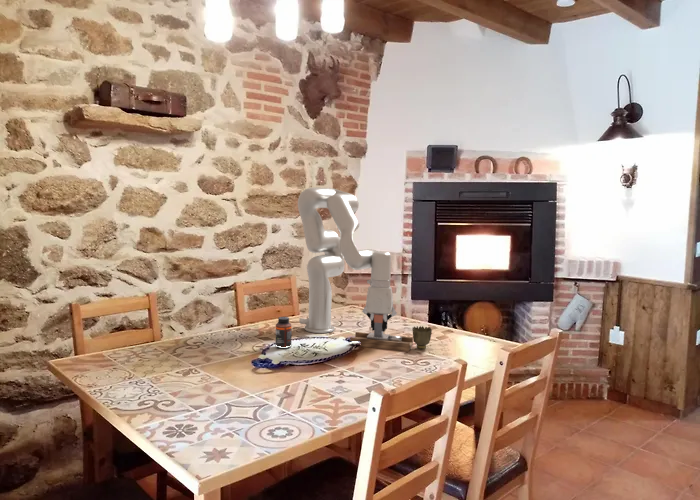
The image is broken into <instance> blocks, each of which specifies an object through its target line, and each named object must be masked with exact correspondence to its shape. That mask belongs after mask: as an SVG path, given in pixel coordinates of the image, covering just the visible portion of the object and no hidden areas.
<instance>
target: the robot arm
mask: <svg viewBox="0 0 700 500" xmlns="http://www.w3.org/2000/svg"><path fill="white" fill-rule="evenodd" d="M297 209H298V214H299V216H300V217H299V218H300V221H301V224H302V229H303V235H304V239H305V245H306V247H307V250H308V251H309V252H310V253H315V254H316V253H324V254H322V255H316V256H314V257H313V256H312V257H311V258H310V259H309V260H308V262H307V265H306V266H307V267H306V270H307V277H308V317H307V318H305V317H304V318H303V317H300V318H299V320H298V322H299V323H300V324H301V325H302V324H303V325H304V330H305V331H306V332H308V333H315V334H326V333H331V332H334V331H335V326H334V325H333V324H332V293H333V291H332V289H333V288H332V284H331V282H330V279H329V278H332V277H337V276H340V275H341V274H343V272H344V271H345V264H346V265H348V267H349V268H350V269H352V270H355V271H358V270H365V269H370V270H371V271H370V279H367V280H366V282H367V284H369V286H368V288H367V293H366V301H365V306H364V308H363V309H362V310H361V312H362V313H363V314H365V315H366V316H367V317H368V318H369V320H370V329H371V330H372V332H374V324H375V322H374V314H375V313H376V314H384V321H383V327H382V331H383V333H384V332H386V330H387V329H388V321H389V320H390V319H391V318H393V317H396V316H397V314H398V313H397V310H396V309H395V307H394V297H393V296H394V295H393V288H392V286H391V279H392V278H391V276H392V275H391V273H392V254H391V253H390V252H388V251H381V250H380V251H379V250H375V249H372V248H371V249H370V248H367V249H358V247H357V245H356V244H355V242H354V237H353V235H354V233H355V232H357V230H358V229H359V227H360V222H359V220H358V218H357V216H356V215H355V213H356V212H357V211H358V209H359V200H358V198H357V197H356V196H355V195H354V194H352V193H349V192H347V191H342V190H339V189H338V188H337V189H336V188H332V187H315V186H313V187H309V188H305V189H303V190H302V191H301V193H300V194H299V196H298V199H297ZM317 209H327V210H328V211H329V214H330V216H331V217H332V219H333V221H334V223H335V225H336V228H337V229H338V231H339V235H338V233H337V232H336V231H335V230H332V229H325V227H324V222H323V219H322V216H321V215H320V213H319V212H318V211H317Z"/></svg>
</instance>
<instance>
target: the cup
mask: <svg viewBox="0 0 700 500" xmlns="http://www.w3.org/2000/svg"><path fill="white" fill-rule="evenodd" d="M411 329H412V337H413V343H414V344H415V345H416V349H418V350H426V348H427V345H428V344H430V342H431V338H432V332H433V329H432V328H431V326H425V327H424V326H421V325H420V326H413V327H412V328H411Z"/></svg>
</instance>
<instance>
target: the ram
mask: <svg viewBox="0 0 700 500" xmlns="http://www.w3.org/2000/svg"><path fill="white" fill-rule="evenodd" d="M383 321H384V314H376V313H375V314H374V322H375V324H374V331H373V332H369V333H370V334H369V335H368V336H367V339H374V340H385V341H395V342H402V337H400V335H393V336H390V335H391V334H389V333H387V334H385V333H384V332H383V331H382V327H383Z"/></svg>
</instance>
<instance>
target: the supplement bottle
mask: <svg viewBox="0 0 700 500" xmlns="http://www.w3.org/2000/svg"><path fill="white" fill-rule="evenodd" d="M277 321H278V322H277V323H276V324H275V346H276V345H277V346H281V347H286V346H290V345H291V346H292V335H293V334H292V329H293V328H292V323H290V317H288V316H279V317H278V320H277Z"/></svg>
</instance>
